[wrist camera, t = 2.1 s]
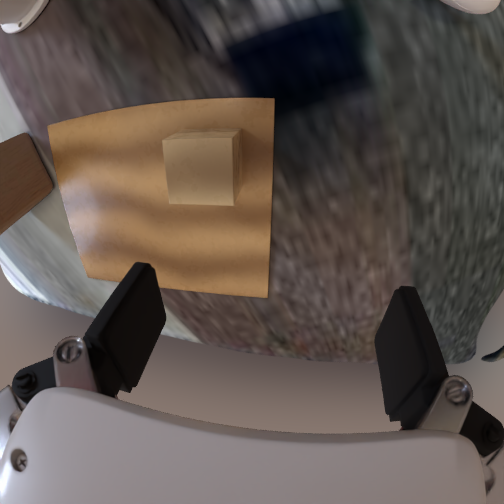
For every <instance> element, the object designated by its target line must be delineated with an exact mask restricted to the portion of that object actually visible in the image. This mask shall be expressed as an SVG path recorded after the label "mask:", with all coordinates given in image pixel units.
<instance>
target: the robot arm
mask: <svg viewBox="0 0 504 504" xmlns="http://www.w3.org/2000/svg"><path fill="white" fill-rule="evenodd" d="M48 1H49V0H0V24H1V27H2V29H3V30H4V31H5V32H6V33H17V32H20V31H22V30H24V29H25V28H27V27H28V26H29V25H30V24H31V23H32V22H33V21H34V20H35V19H36V18H37V17H38V16H39V14H40V13H41V12H42V11H43V9H44V8H45V6H46V5H47V3H48ZM165 322H166V313H165V309H164V305H163V301H162V297H161V293H160V289H159V284H158V280H157V276H156V271H155V268H154V267H152V266H151V264H150V263H144V262H135V263H134V264H133V266H132V267H131V268H130V270H129V271H128V272H127V274H126V275H125V277H124V278H123V279H122V281H121V282H120V283H119V285H118V286H117V288H116V289H115V290H114V292H113V293H112V295H111V296H110V297H109V299H108V300H107V302H106V303H105V305H104V306H103V307H102V309H101V310H100V312H99V313H98V315H97V316H96V318H95V319H94V321H93V322H92V324H91V325H90V327H89V329H88V330H87V332H86V333H85V336H84V337H83V339H82V338H80V337H77V336H69V337H66V338H64V339H62V340H61V341H60V342H59V343H58V344H57V345H56V346H55V349H54V351H53V357H51V358H48V359H46V360H43V361H41V362H38V363H35V364H33V365H30V366H28V367H25V368H23V369H21V370H19V371H18V373H16V375H15V377H14V379H13V382H12V387H11V386H10V385H8V386H6V387H5V388H4V389H2V390H1V391H0V504H504V428H503V426H502V424H501V422H500V421H499V420H497V419H496V418H495V417H493V416H492V415H491V414H489V413H488V412H486V411H485V410H484V409H483V408H481V407H480V406H479V405H477V404H476V403H474V402H473V401H472V399H473V390H472V388H471V385H470V384H469V383H468V381H466V379H464V378H463V377H460V376H456V375H453V376H449V375H448V372H447V369H446V365H445V362H444V359H443V356H442V353H441V350H440V347H439V344H438V342H437V339H436V336H435V333H434V331H433V328H432V325H431V323H430V322H429V319H428V317H427V314H426V312H425V309H424V307H423V304H422V302H421V300H420V297H419V295H418V293H417V290H416V288H415V287H411V286H400V287H399V289H396V290H395V291H394V294H393V296H392V299H391V301H390V304H389V306H388V308H387V311H386V313H385V315H384V318H383V320H382V322H381V324H380V327H379V329H378V331H377V333H376V336H375V349H376V354H377V360H378V365H379V371H380V378H381V384H382V391H383V398H384V405H385V412H386V414H387V415H389V417H390V422H392V421H401V426H402V427H401V429H400V430H399V431H391V432H378V433H353V434H312V433H291V432H278V431H267V430H257V429H249V428H241V427H234V426H228V425H222V424H215V423H210V422H204V421H200V420H195V419H190V418H185V417H181V416H177V415H172V414H168V413H164V412H160V411H157V410H153V409H149V408H146V407H142V406H139V405H135V404H132V403H128V402H125V401H122V400H119V399H118V397H117V394H118V392H119V390H122V391H125V392H128V393H130V392H131V390H132V387H136V386H137V384H138V382H139V380H140V377H141V375H142V373H143V371H144V368H145V366H146V364H147V362H148V359H149V357H150V355H151V353H152V351H153V348H154V346H155V344H156V342H157V340H158V337H159V335H160V333H161V331H162V329H163V327H164V325H165Z"/></svg>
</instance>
